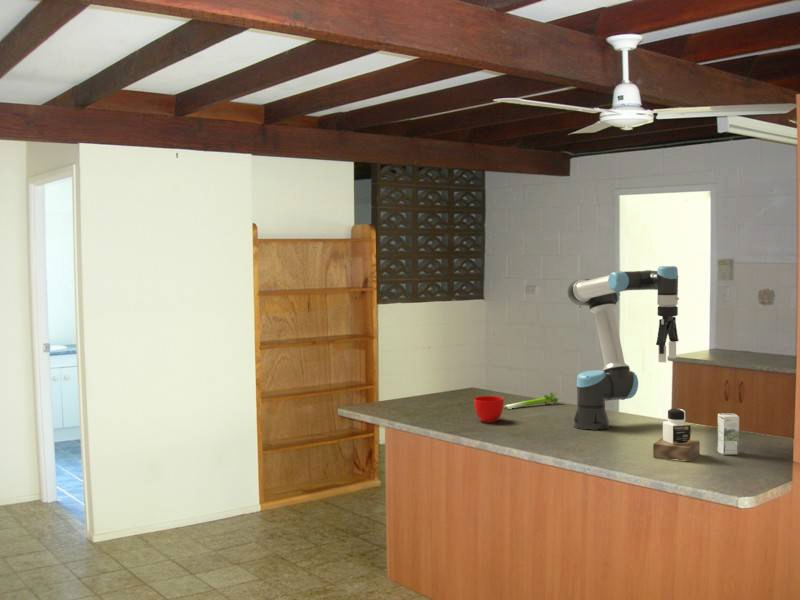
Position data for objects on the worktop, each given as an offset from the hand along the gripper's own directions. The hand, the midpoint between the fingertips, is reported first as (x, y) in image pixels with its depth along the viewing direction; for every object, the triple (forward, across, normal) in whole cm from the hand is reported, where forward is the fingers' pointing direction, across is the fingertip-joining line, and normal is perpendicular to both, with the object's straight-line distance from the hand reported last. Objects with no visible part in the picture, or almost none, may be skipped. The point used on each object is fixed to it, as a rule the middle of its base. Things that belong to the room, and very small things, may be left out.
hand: (667, 360), depth 332 cm
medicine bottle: (+27, -22, -10) cm, 36 cm away
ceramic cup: (+32, +1, +79) cm, 85 cm away
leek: (+32, +40, +76) cm, 91 cm away
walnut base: (+32, -23, -10) cm, 40 cm away
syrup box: (+32, -10, -25) cm, 42 cm away
